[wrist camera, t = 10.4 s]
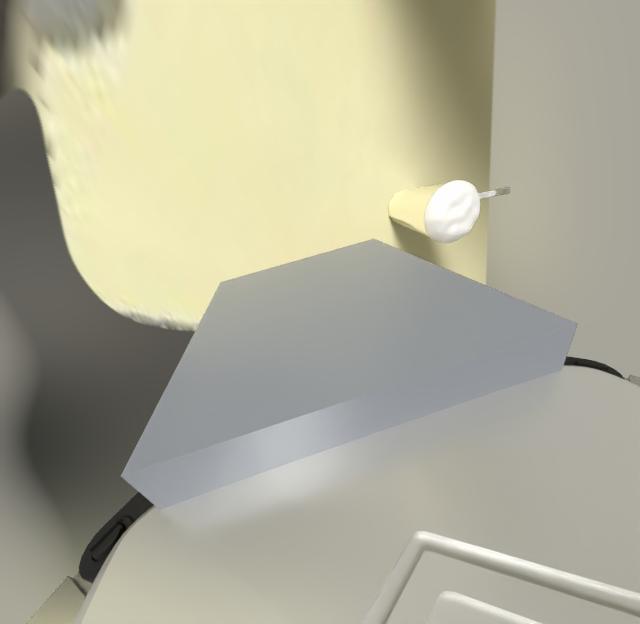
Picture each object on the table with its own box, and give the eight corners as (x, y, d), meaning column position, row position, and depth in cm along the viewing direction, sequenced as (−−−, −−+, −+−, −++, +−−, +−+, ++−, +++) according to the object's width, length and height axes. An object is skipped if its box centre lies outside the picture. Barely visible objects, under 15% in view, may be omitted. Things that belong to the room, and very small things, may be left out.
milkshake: (433, 209, 27) (514, 219, 18) (391, 237, 27) (450, 259, 18) (420, 168, 24) (505, 156, 16) (375, 199, 25) (433, 205, 16)
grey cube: (220, 282, 11) (120, 475, 4) (374, 238, 12) (577, 323, 4) (272, 395, 15) (278, 612, 7) (387, 357, 15) (509, 521, 8)
